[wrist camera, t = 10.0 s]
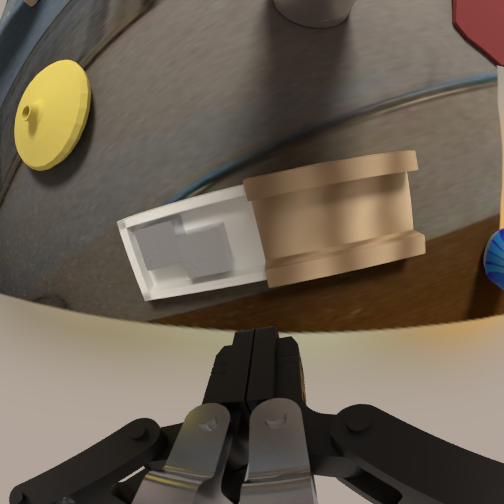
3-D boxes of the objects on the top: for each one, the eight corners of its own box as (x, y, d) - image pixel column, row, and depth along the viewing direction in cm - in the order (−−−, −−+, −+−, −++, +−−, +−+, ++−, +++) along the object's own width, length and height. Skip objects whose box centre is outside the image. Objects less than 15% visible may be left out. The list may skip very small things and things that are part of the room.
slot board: (398, 151, 26) (414, 150, 22) (409, 242, 29) (425, 253, 25) (246, 178, 28) (242, 180, 25) (269, 273, 32) (269, 288, 28)
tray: (247, 182, 29) (244, 184, 26) (268, 268, 31) (268, 279, 29) (129, 216, 31) (116, 221, 28) (154, 290, 34) (145, 300, 31)
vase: (63, 52, 24) (33, 41, 17) (121, 88, 26) (89, 76, 19) (18, 139, 28) (-13, 141, 21) (65, 190, 30) (30, 198, 24)
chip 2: (223, 221, 29) (217, 227, 26) (234, 260, 30) (230, 270, 27) (184, 230, 30) (175, 237, 27) (196, 268, 31) (189, 278, 28)
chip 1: (180, 215, 29) (170, 221, 26) (192, 253, 30) (183, 263, 27) (146, 225, 30) (134, 231, 27) (157, 261, 31) (147, 270, 28)
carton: (493, 74, 22) (491, -15, 11) (510, 73, 18) (504, -20, 6) (439, 34, 22) (442, -50, 11) (455, 28, 18) (452, -58, 6)
